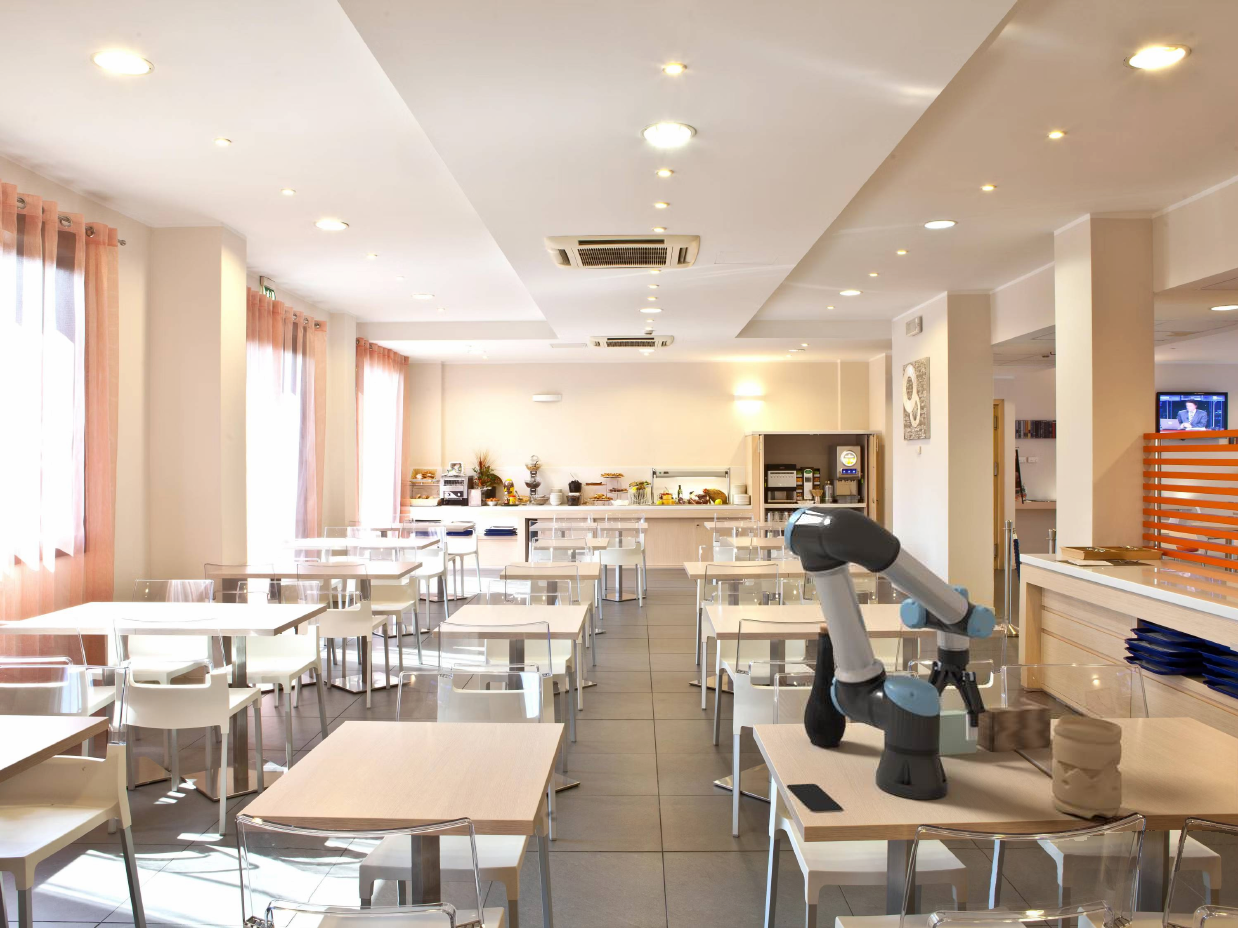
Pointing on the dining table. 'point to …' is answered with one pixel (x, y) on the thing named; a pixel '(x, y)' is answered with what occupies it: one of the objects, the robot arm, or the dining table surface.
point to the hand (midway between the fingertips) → (953, 731)
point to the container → (1086, 766)
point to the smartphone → (814, 798)
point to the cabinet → (1015, 727)
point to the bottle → (824, 699)
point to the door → (954, 734)
